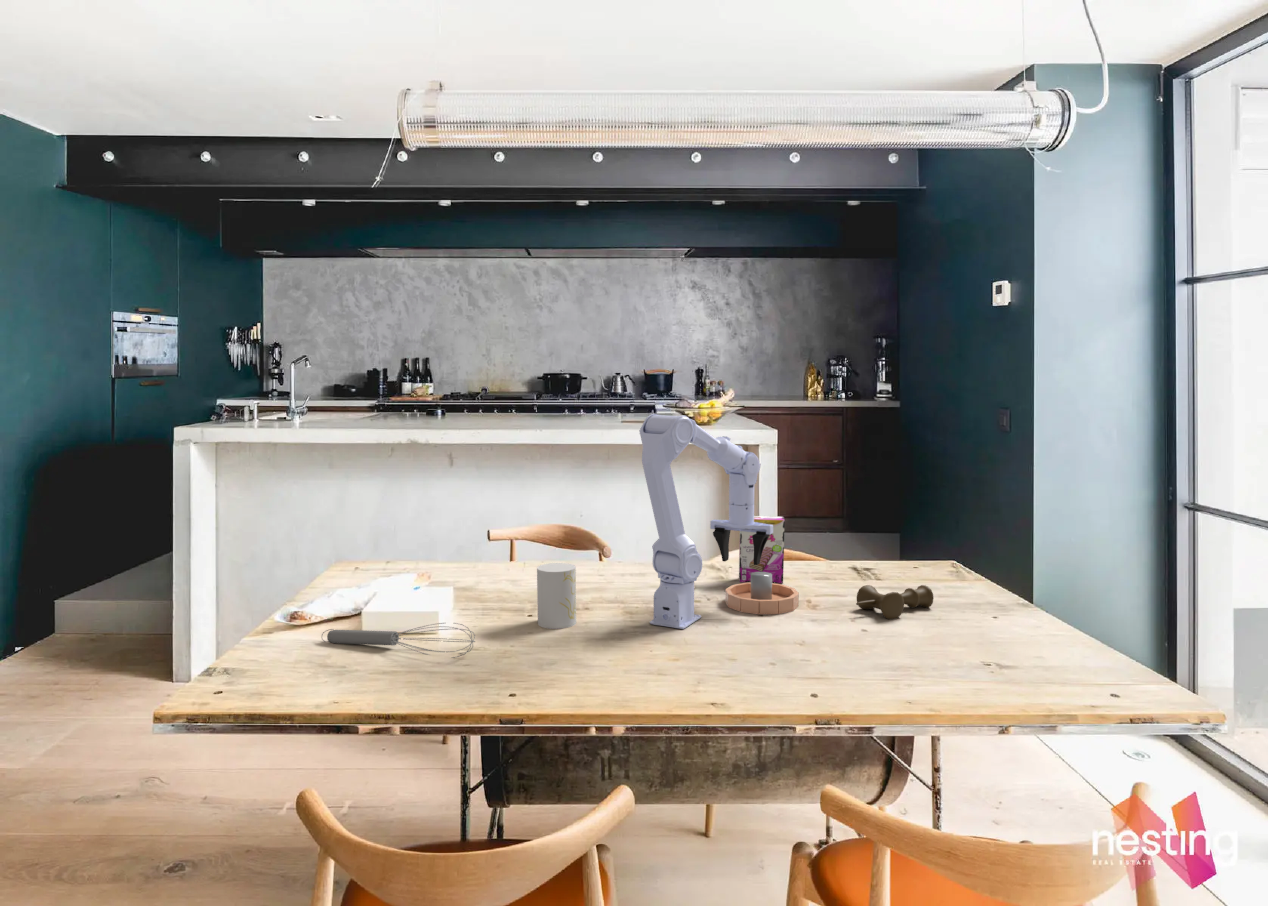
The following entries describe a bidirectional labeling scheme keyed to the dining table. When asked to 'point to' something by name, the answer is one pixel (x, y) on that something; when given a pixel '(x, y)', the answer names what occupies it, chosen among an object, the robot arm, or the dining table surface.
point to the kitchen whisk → (384, 637)
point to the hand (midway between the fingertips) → (740, 562)
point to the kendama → (894, 600)
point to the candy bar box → (771, 553)
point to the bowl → (780, 603)
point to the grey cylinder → (761, 586)
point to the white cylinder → (556, 595)
